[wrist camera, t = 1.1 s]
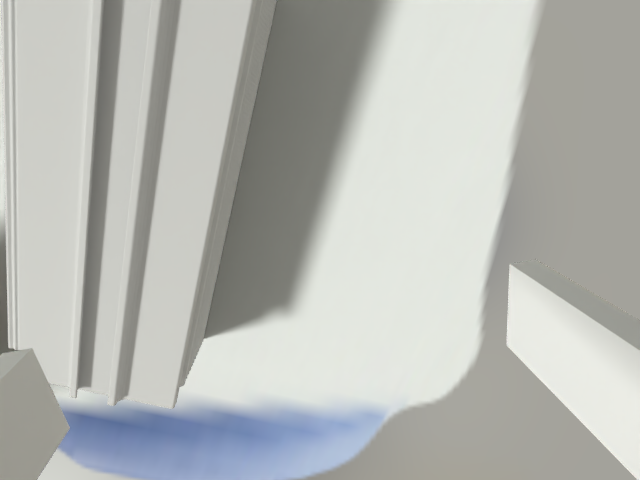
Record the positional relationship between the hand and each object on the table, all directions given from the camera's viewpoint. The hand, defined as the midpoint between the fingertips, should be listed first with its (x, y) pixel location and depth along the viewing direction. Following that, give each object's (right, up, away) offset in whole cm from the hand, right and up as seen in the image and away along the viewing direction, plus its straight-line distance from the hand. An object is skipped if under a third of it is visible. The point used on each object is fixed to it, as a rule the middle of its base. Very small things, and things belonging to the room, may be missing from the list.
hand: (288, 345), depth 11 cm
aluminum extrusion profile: (-13, +9, +22) cm, 27 cm away
